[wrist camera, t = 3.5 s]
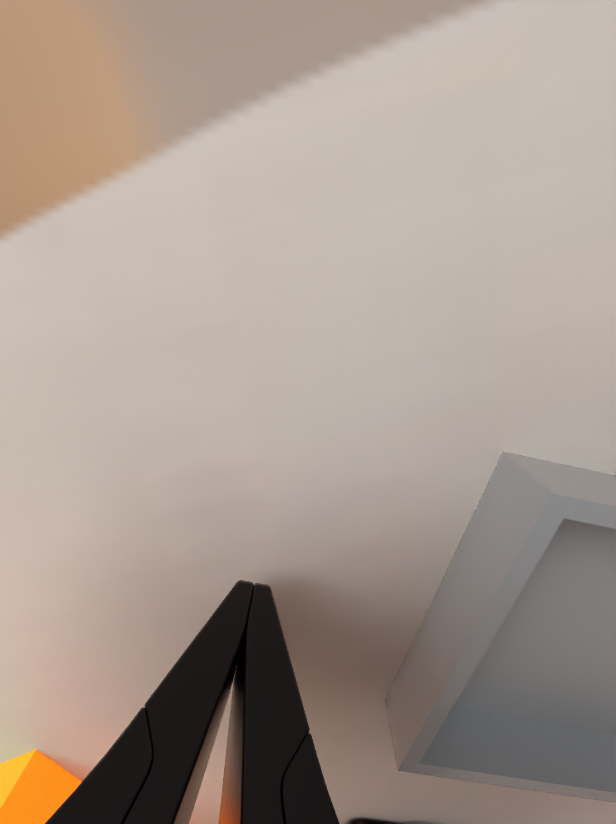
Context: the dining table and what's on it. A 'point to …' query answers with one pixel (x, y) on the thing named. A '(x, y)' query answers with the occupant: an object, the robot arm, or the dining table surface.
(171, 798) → the robot arm
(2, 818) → the orange juice
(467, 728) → the grey open tray
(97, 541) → the dining table surface
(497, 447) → the dining table surface
